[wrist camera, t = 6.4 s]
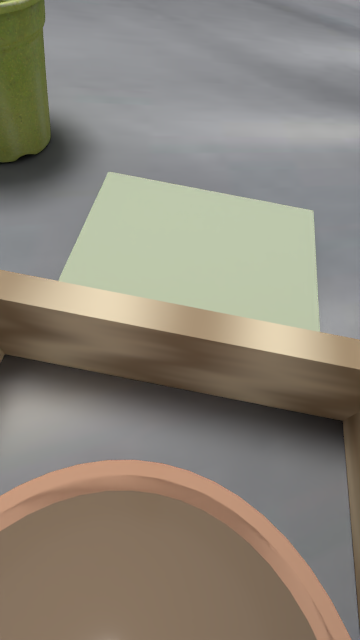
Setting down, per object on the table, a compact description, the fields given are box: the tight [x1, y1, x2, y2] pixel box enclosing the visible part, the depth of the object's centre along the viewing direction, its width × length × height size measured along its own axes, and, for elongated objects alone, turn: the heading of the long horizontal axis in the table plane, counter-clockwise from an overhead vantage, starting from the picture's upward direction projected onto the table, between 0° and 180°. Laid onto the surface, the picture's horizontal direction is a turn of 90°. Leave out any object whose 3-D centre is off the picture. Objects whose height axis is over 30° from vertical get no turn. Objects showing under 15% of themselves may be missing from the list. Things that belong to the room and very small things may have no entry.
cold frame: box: [0, 270, 360, 625], centre depth 10 cm, size 18×18×5 cm
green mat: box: [58, 172, 320, 332], centre depth 21 cm, size 14×10×1 cm
